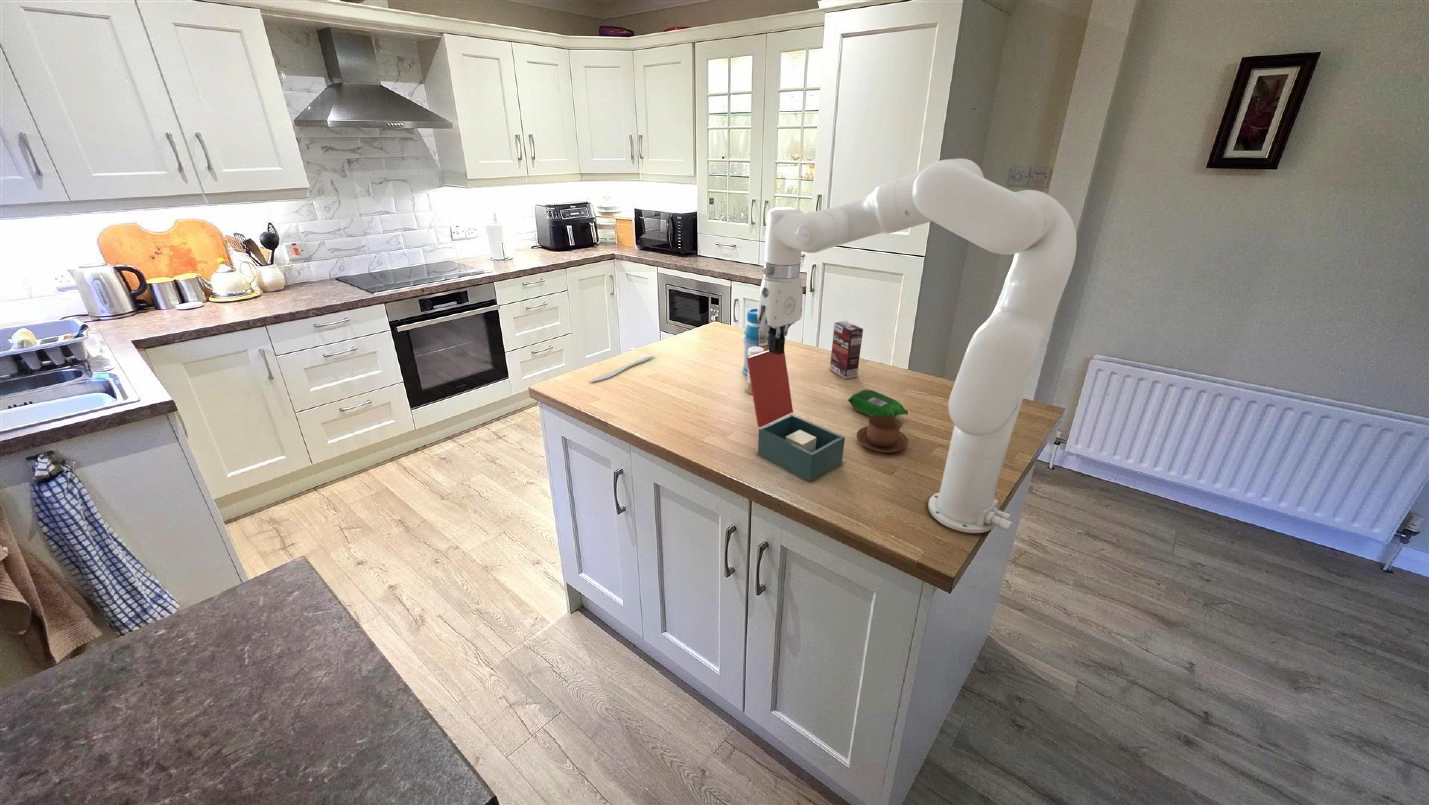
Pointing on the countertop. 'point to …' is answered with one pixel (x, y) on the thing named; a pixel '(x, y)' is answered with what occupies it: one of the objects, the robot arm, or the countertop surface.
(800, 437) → the block
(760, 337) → the beverage bottle
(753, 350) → the sprinkles bottle
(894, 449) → the cup and saucer
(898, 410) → the snack package
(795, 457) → the open box
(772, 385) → the lid
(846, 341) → the supplement box
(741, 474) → the countertop surface
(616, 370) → the butter knife
